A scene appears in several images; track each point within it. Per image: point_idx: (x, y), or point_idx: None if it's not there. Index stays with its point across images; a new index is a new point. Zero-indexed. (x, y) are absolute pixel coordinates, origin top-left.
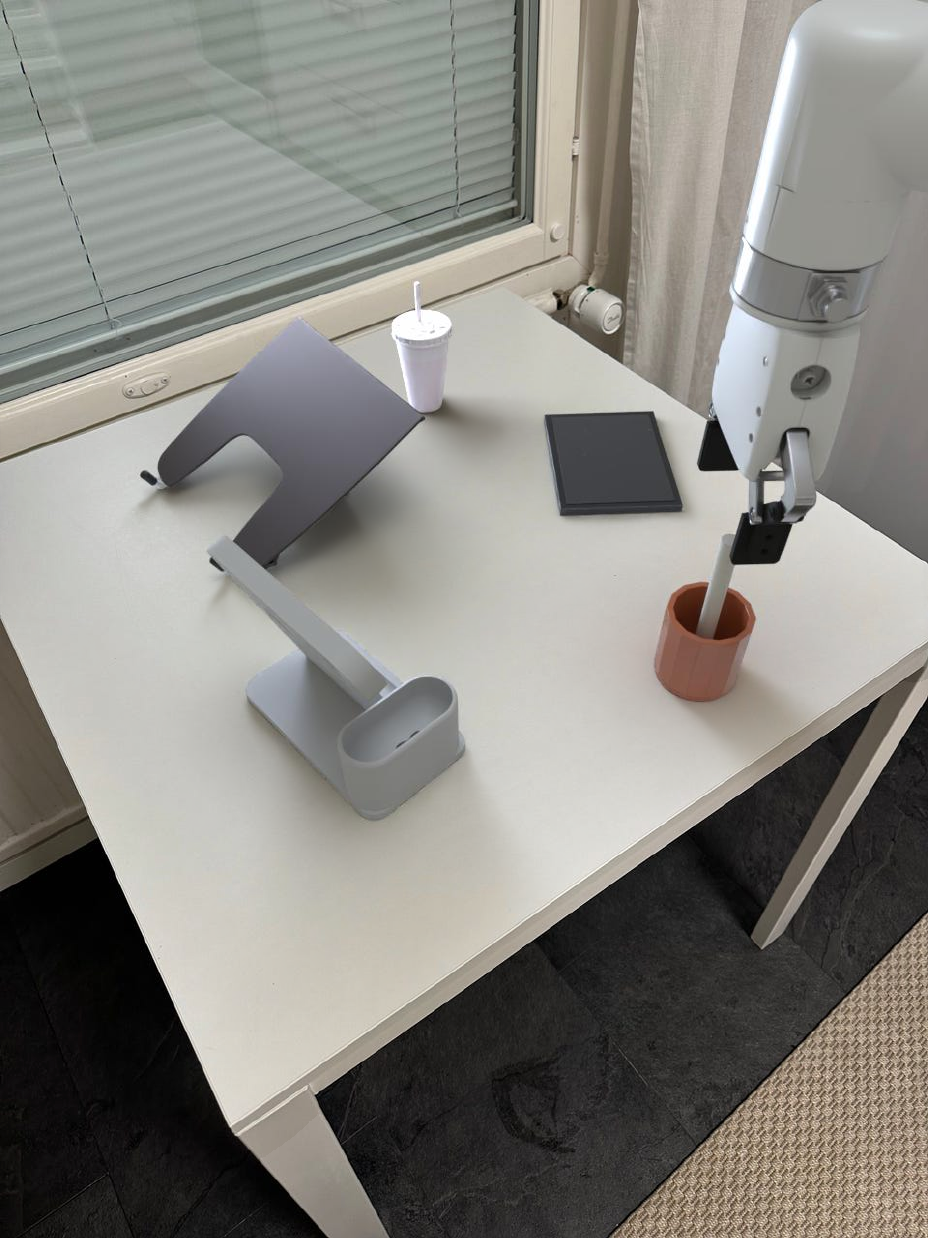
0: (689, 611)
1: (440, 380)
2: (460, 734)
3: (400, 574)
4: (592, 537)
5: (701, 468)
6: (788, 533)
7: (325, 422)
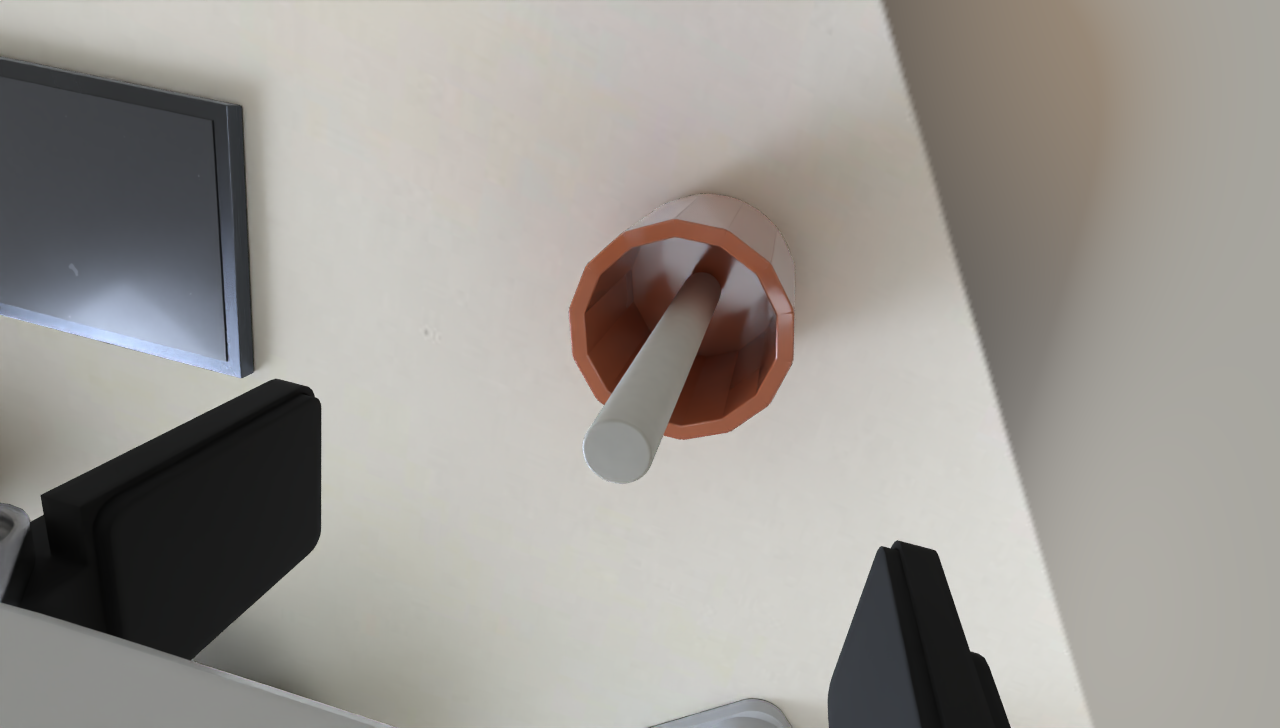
0: (609, 310)
1: None
2: (747, 712)
3: (389, 664)
4: (317, 333)
5: (311, 550)
6: (972, 675)
7: None
